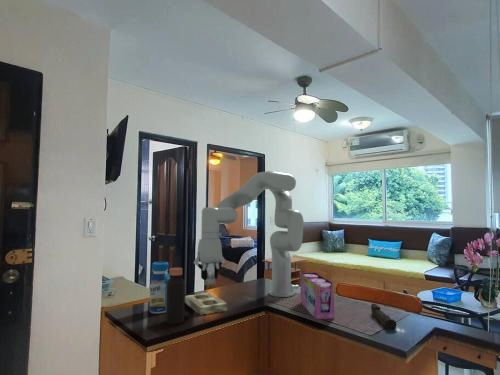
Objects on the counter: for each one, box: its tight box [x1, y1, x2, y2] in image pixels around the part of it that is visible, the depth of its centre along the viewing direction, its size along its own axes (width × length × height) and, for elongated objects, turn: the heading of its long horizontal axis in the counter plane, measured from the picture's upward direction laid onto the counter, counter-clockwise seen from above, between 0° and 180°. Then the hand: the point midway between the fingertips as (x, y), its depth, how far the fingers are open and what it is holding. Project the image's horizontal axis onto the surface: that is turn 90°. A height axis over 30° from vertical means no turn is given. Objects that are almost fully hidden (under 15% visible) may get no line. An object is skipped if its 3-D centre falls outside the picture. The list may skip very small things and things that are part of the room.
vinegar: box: [165, 267, 186, 326], centre depth 122 cm, size 7×7×20 cm
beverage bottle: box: [148, 261, 170, 314], centre depth 135 cm, size 8×8×20 cm
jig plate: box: [184, 292, 228, 316], centre depth 140 cm, size 12×20×3 cm, turn 30°
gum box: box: [299, 272, 335, 320], centre depth 135 cm, size 24×8×14 cm, turn 6°
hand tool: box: [370, 303, 397, 331], centre depth 122 cm, size 19×4×5 cm, turn 176°
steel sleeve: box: [203, 262, 216, 286], centre depth 136 cm, size 4×4×9 cm
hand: (209, 278), depth 136 cm, fingers closed on steel sleeve, 4 cm apart
